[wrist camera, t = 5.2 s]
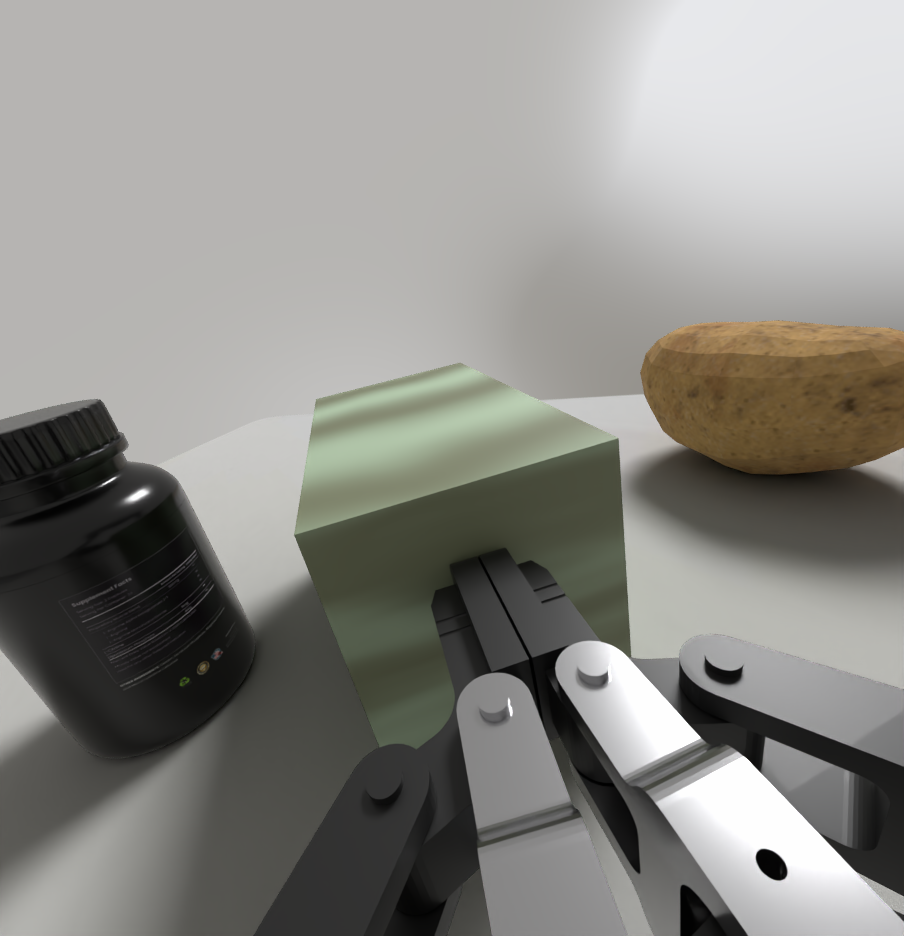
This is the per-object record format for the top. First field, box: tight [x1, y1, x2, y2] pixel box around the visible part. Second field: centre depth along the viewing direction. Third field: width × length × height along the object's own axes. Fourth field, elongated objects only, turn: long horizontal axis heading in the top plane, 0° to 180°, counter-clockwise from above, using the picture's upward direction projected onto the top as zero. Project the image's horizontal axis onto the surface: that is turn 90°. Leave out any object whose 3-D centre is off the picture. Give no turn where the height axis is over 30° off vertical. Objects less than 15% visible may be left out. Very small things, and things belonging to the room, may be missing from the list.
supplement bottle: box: [0, 399, 255, 758], centre depth 17 cm, size 7×7×12 cm
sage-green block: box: [294, 363, 631, 749], centre depth 19 cm, size 15×8×9 cm, turn 14°
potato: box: [640, 320, 904, 474], centre depth 24 cm, size 10×14×8 cm
